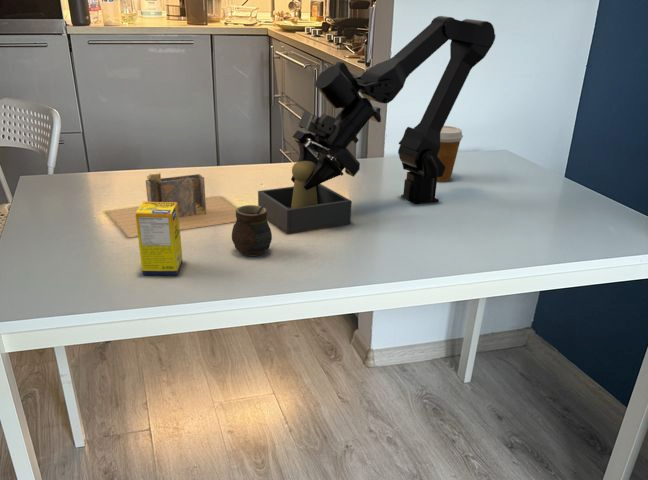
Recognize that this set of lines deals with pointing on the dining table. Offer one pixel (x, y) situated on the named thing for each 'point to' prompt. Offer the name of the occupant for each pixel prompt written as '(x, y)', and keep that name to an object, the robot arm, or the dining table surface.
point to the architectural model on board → (180, 203)
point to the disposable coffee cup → (448, 149)
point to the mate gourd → (251, 230)
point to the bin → (305, 209)
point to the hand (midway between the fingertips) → (298, 184)
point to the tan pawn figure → (300, 194)
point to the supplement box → (159, 238)
